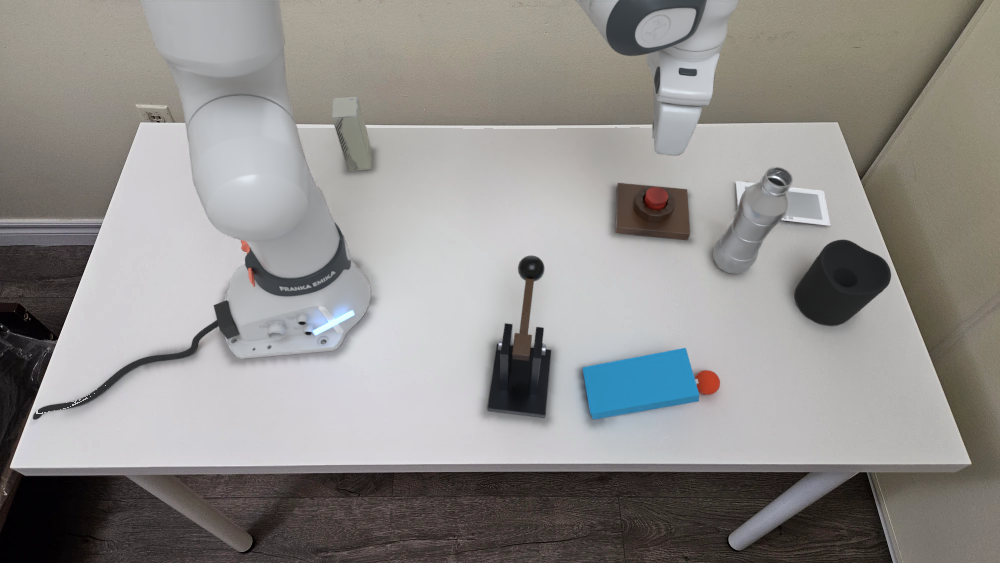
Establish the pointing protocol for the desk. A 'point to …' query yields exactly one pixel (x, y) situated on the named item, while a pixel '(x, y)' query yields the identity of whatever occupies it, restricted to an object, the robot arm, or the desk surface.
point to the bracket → (520, 378)
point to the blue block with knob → (645, 383)
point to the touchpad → (799, 204)
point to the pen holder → (841, 282)
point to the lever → (526, 305)
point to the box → (352, 133)
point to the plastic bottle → (753, 221)
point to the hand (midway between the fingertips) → (657, 133)
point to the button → (655, 198)
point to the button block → (651, 213)
